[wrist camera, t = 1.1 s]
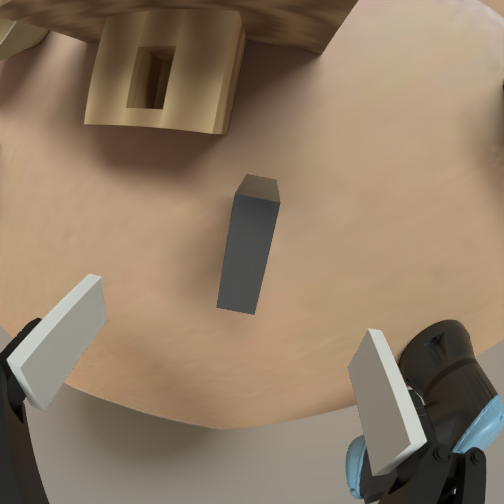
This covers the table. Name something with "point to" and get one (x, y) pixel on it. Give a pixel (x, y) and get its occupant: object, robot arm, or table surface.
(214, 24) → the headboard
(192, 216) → the table surface
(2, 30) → the planter bowl
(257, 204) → the grey slab
